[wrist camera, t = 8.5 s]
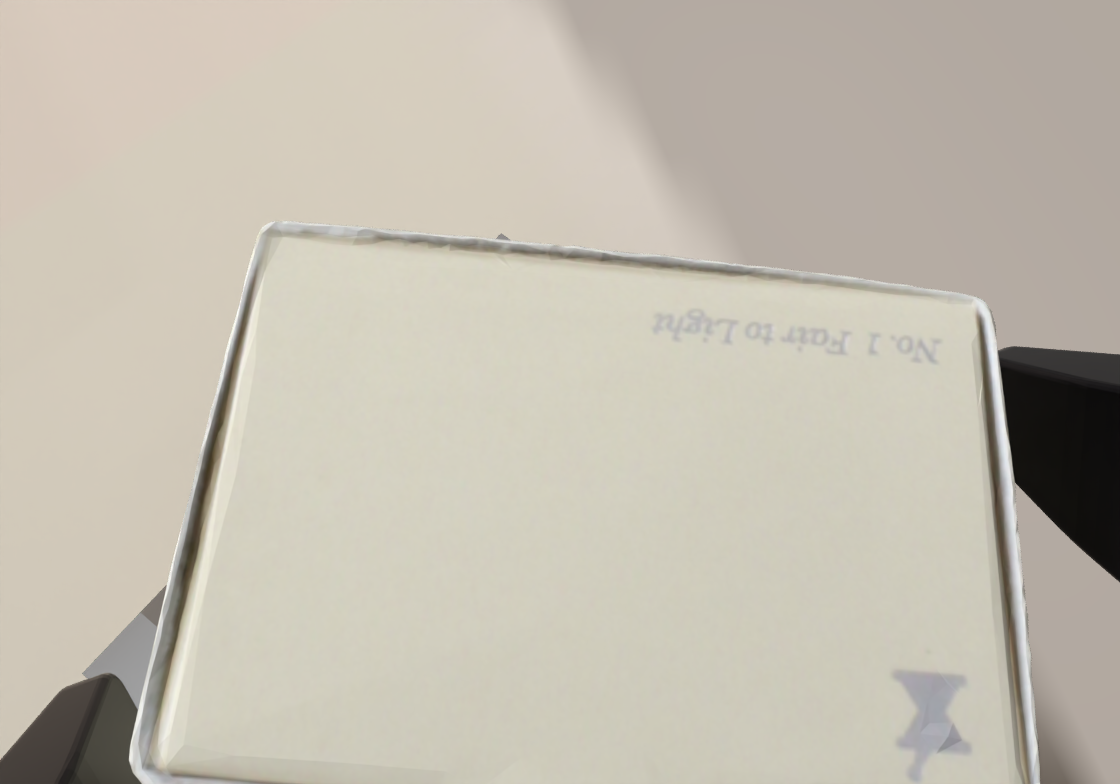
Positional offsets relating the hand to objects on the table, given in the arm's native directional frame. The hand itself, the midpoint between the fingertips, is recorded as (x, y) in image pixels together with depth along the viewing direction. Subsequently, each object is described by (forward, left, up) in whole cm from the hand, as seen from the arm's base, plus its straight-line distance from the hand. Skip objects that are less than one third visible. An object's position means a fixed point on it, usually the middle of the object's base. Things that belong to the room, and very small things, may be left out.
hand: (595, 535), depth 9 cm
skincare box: (0, 0, -10) cm, 10 cm away
